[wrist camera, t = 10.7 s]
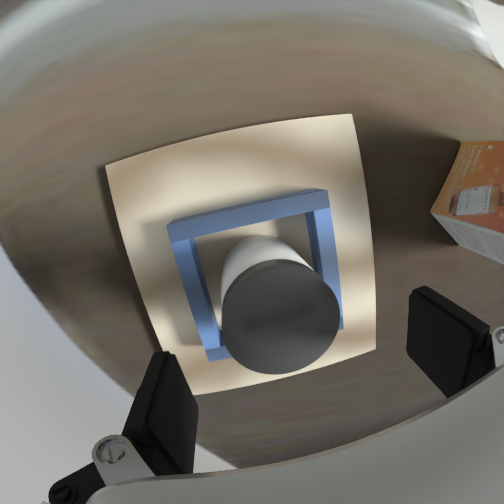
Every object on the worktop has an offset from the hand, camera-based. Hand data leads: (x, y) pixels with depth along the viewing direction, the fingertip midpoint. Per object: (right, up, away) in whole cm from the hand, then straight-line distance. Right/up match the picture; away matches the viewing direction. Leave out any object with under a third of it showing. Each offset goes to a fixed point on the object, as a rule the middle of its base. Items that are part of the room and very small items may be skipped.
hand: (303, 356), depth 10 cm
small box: (+17, +9, +10) cm, 21 cm away
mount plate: (-1, +3, +9) cm, 10 cm away
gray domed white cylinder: (-1, +2, +8) cm, 9 cm away
